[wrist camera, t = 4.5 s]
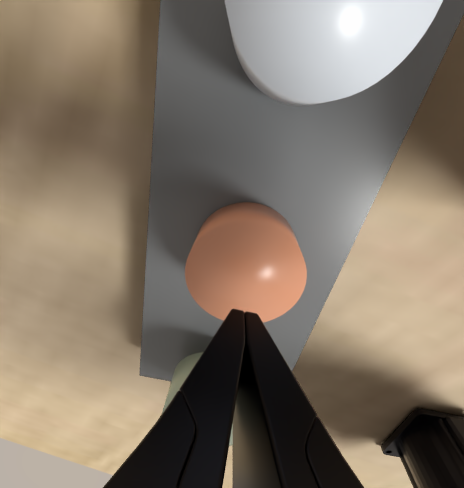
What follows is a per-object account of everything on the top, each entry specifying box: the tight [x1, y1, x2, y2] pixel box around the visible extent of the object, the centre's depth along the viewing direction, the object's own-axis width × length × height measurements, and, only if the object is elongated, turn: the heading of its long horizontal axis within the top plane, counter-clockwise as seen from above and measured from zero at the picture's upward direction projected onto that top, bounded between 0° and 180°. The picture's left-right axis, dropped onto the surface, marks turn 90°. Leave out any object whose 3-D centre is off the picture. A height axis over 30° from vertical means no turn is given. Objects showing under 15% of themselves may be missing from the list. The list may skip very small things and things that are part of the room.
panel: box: [140, 0, 464, 381], centre depth 14 cm, size 23×10×2 cm, turn 168°
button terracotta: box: [185, 202, 307, 322], centre depth 11 cm, size 5×5×2 cm
